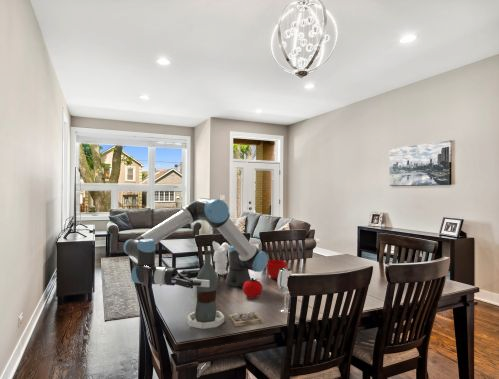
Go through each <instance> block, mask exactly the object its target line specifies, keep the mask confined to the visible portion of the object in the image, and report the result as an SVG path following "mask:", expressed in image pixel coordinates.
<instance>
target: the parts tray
mask: <svg viewBox="0 0 499 379" xmlns="http://www.w3.org/2000/svg"><path fill="white" fill-rule="evenodd" d="M251 312H252V313H253V314H254V316H253V318H252V319H249V318H248V320H246V321H242V319H241V318H242V316H243V315H247V313H248V312H243V313H238V314H239V315H240V319H239V320H237V321H236V320H234V318H233V316H234V314H235V313H233V314H228V317H227V318H228V321H230V323H231V324H232V325H233V326H234V327H241V326H249V325H255V324H262V318H260V316H259V315H258V314H257V313H255V312H254V311H251Z"/></svg>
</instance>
